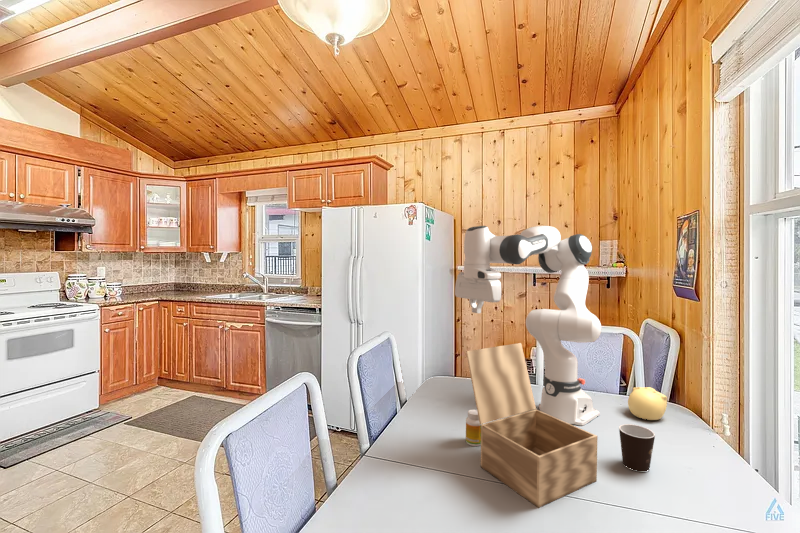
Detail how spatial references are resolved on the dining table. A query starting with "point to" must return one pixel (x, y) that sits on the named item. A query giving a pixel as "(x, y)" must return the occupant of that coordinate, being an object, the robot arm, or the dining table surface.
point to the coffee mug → (636, 446)
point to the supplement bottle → (473, 429)
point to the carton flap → (500, 382)
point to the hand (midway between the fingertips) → (476, 312)
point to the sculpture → (647, 403)
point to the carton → (539, 455)
